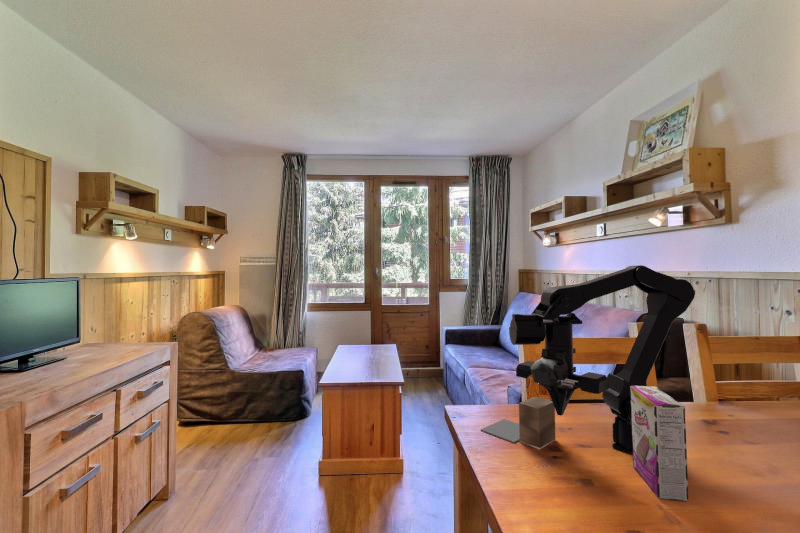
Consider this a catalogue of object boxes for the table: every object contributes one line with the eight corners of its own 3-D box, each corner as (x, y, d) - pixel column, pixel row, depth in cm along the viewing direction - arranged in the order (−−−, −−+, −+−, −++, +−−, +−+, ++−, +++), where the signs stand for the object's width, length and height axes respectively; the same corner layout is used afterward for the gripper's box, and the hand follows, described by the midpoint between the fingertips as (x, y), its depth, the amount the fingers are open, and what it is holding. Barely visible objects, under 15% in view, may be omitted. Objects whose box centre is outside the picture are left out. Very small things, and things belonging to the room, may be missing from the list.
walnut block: (555, 440, 88) (554, 401, 88) (539, 449, 84) (538, 408, 84) (535, 433, 92) (534, 396, 92) (519, 442, 88) (518, 403, 88)
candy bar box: (631, 467, 76) (628, 384, 76) (659, 469, 75) (656, 385, 75) (657, 500, 65) (654, 403, 65) (690, 503, 64) (687, 405, 64)
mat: (537, 430, 94) (537, 429, 94) (514, 443, 87) (514, 441, 87) (504, 420, 101) (504, 418, 101) (480, 430, 94) (480, 429, 94)
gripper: (501, 343, 86) (502, 412, 86) (585, 356, 72) (587, 439, 71) (528, 337, 93) (529, 401, 93) (609, 348, 79) (611, 423, 79)
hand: (560, 414), depth 84 cm, fingers closed
